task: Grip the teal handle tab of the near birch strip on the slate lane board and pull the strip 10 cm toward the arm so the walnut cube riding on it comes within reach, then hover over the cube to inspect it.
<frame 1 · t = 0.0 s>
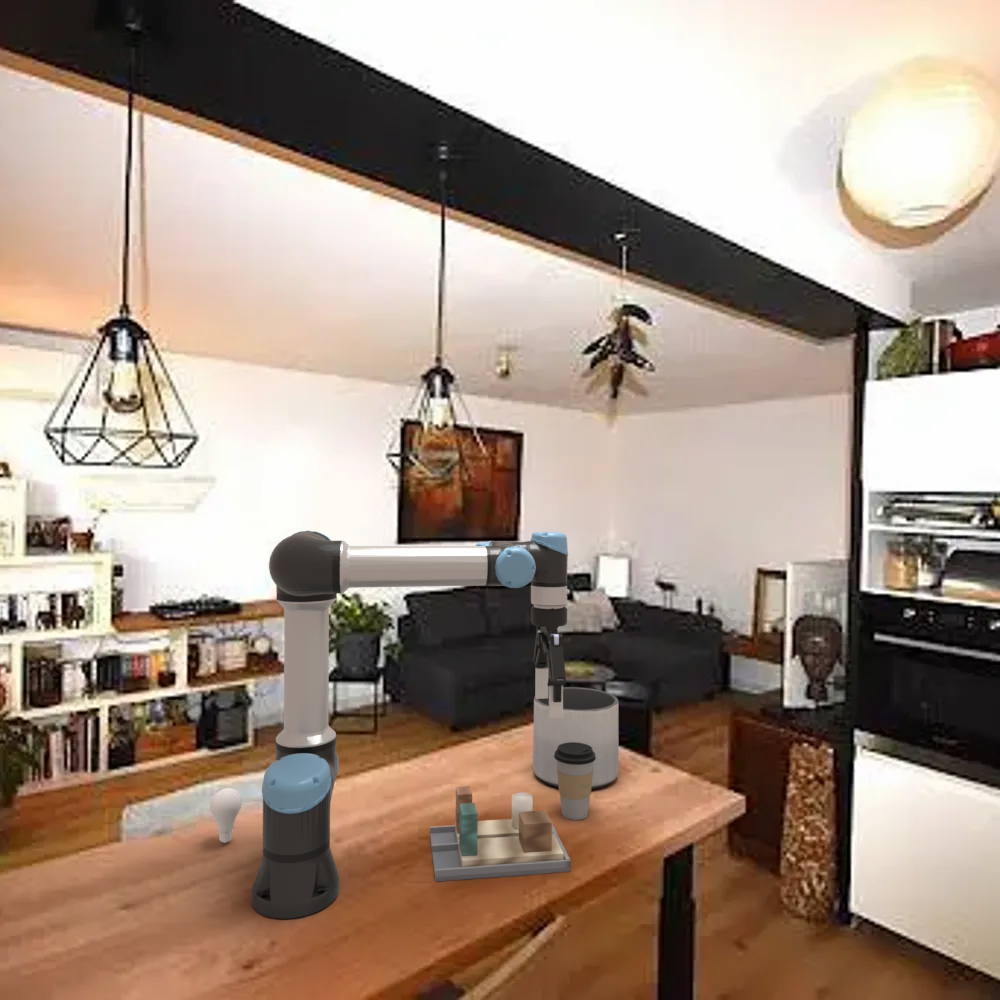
hand: (548, 707, 149), 28 cm above the table, fingers open, 13 cm apart
planter: (575, 776, 184), on the table
stoneware cylinder: (522, 825, 149), point 3 cm above the table, touching strip b
coffee cup: (574, 814, 161), on the table
lane board: (497, 852, 144), on the table
lightbulb: (225, 843, 147), on the table
strip a: (510, 831, 140), point 6 cm above the table, slide at 0.0 cm, touching walnut cube
strip b: (503, 812, 149), point 6 cm above the table, slide at 0.0 cm, touching stoneware cylinder
walnut cube: (534, 844, 141), point 3 cm above the table, touching strip a
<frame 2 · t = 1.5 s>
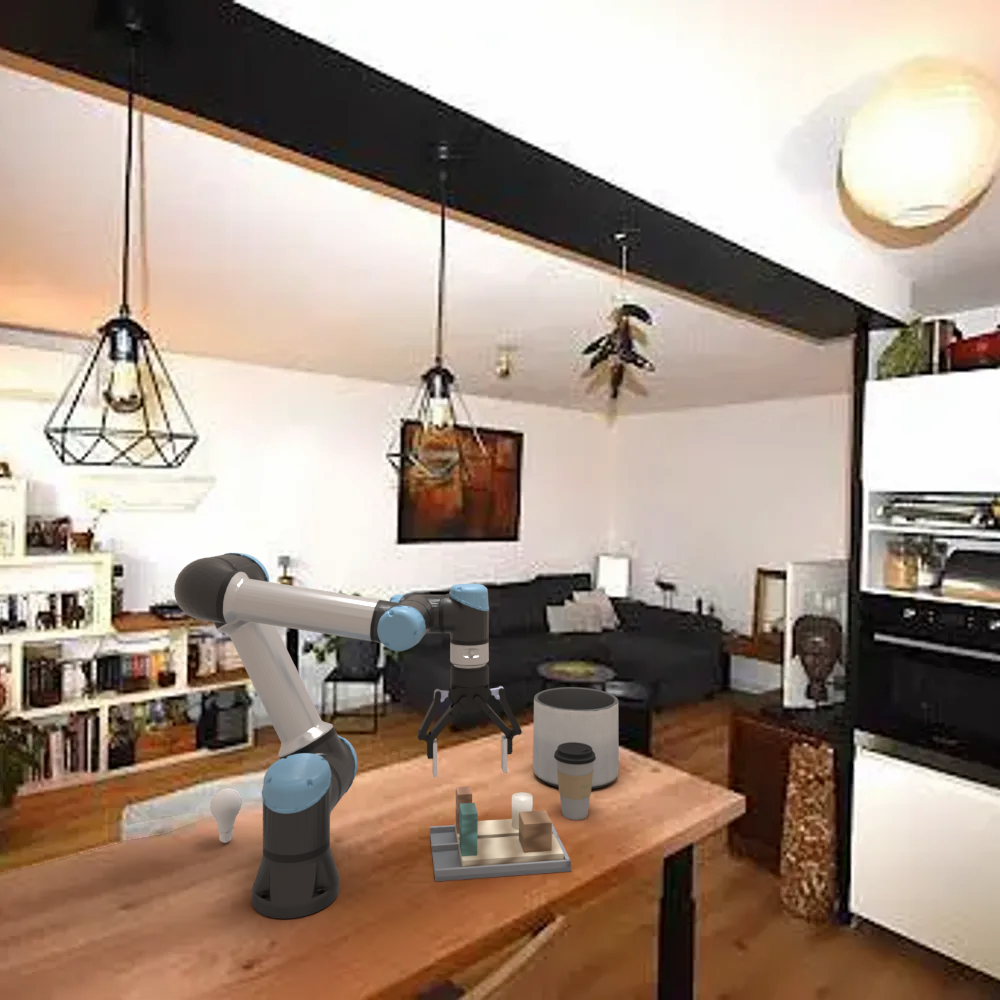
hand: (469, 772, 139), 18 cm above the table, fingers open, 13 cm apart
nothing on the table moved.
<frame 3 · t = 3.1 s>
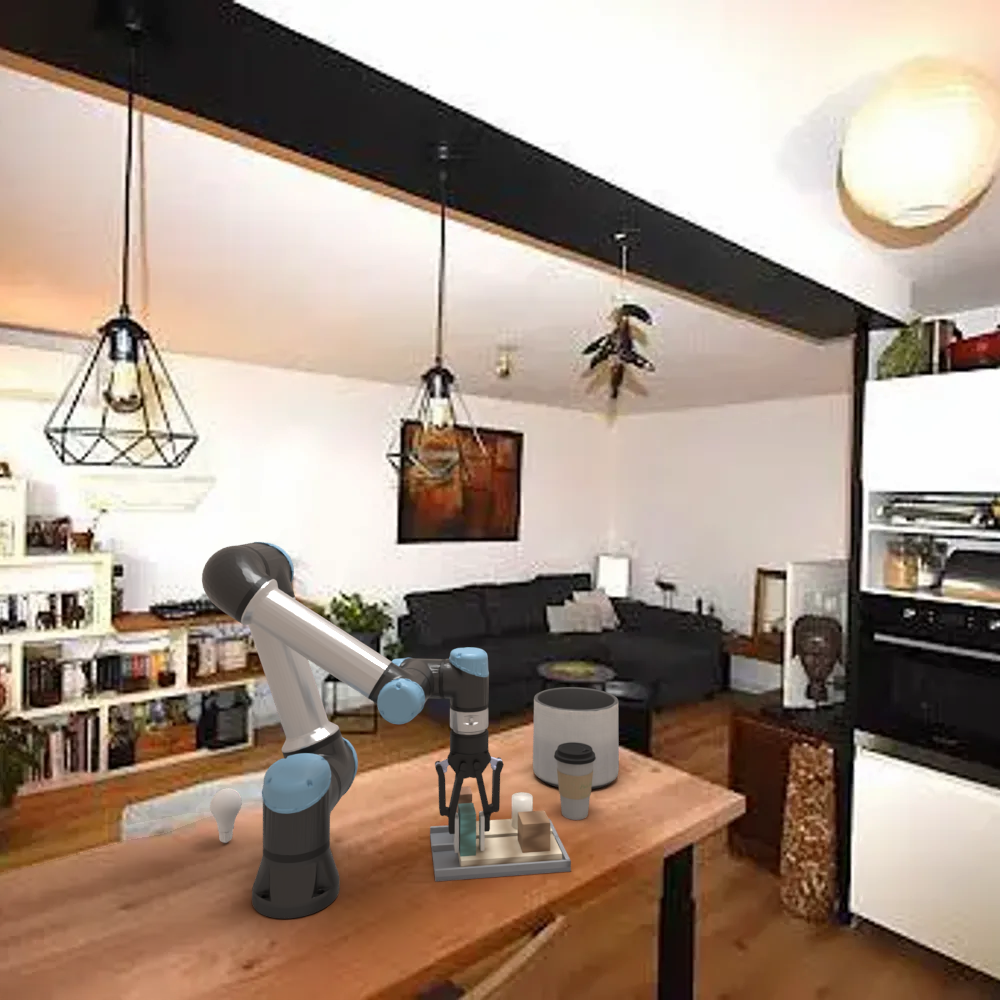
hand: (469, 848, 139), 3 cm above the table, fingers closed on strip a, 4 cm apart
strip a: (508, 831, 140), point 6 cm above the table, slide at 0.3 cm, touching gripper, walnut cube
everything else where it was.
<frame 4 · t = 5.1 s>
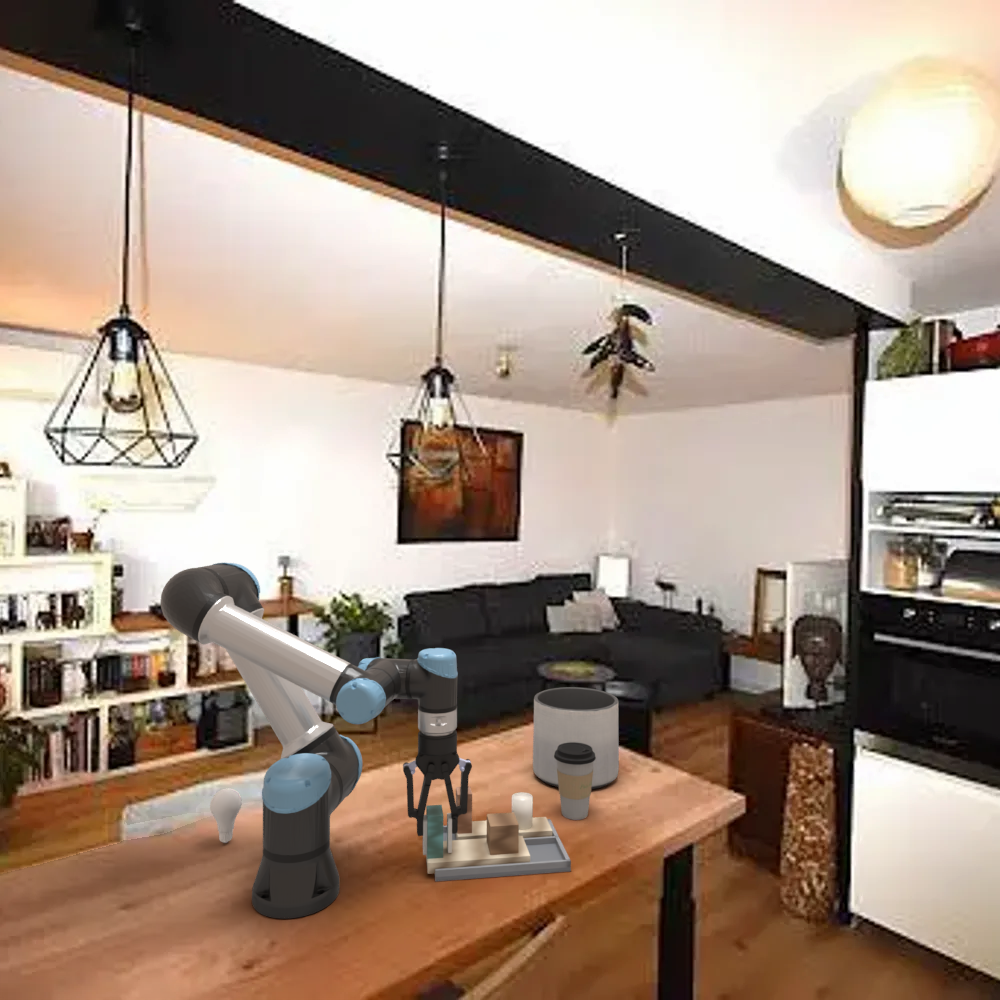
hand: (437, 850, 138), 3 cm above the table, fingers closed on strip a, 4 cm apart
strip a: (477, 833, 139), point 6 cm above the table, slide at 6.6 cm, touching gripper, walnut cube
walnut cube: (502, 847, 140), point 3 cm above the table, touching strip a
everything else where it was.
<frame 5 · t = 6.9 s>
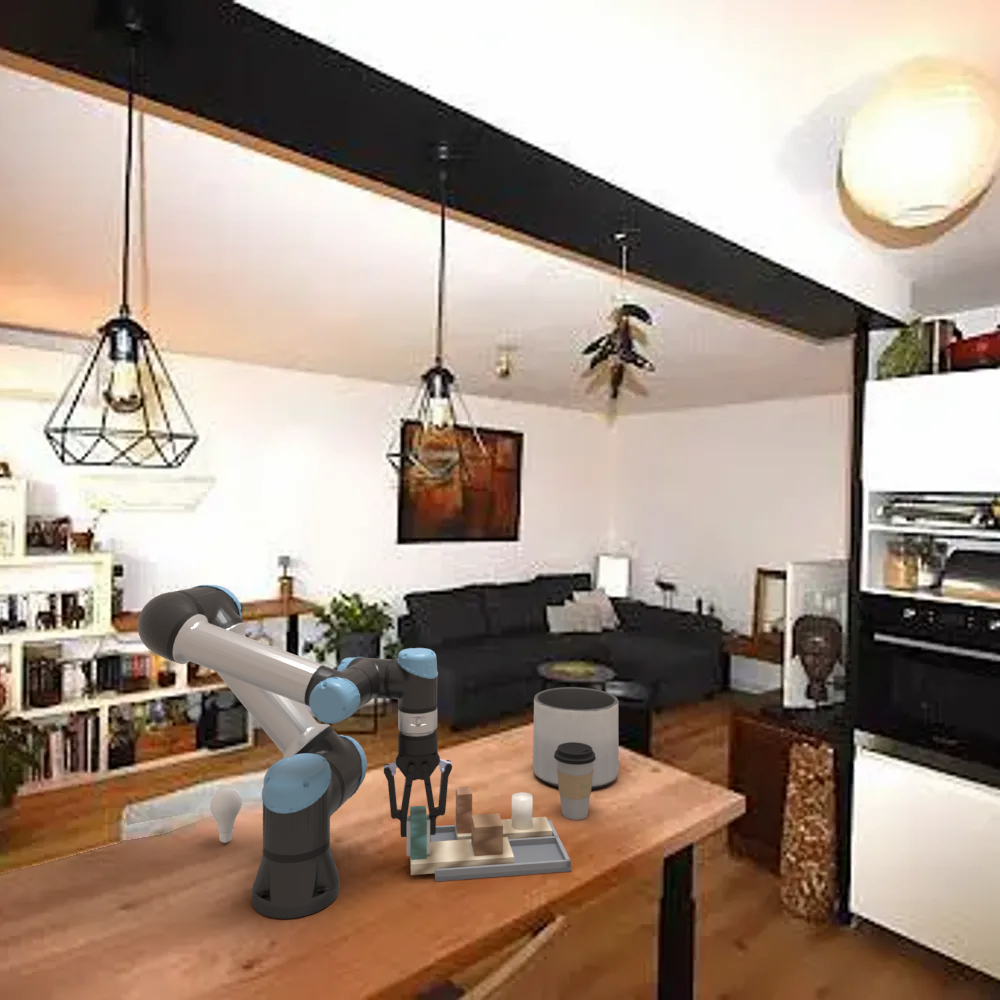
hand: (418, 851, 137), 3 cm above the table, fingers closed on strip a, 3 cm apart
strip a: (461, 834, 139), point 6 cm above the table, slide at 9.7 cm, touching gripper, walnut cube
walnut cube: (486, 848, 139), point 3 cm above the table, touching strip a
everything else where it was.
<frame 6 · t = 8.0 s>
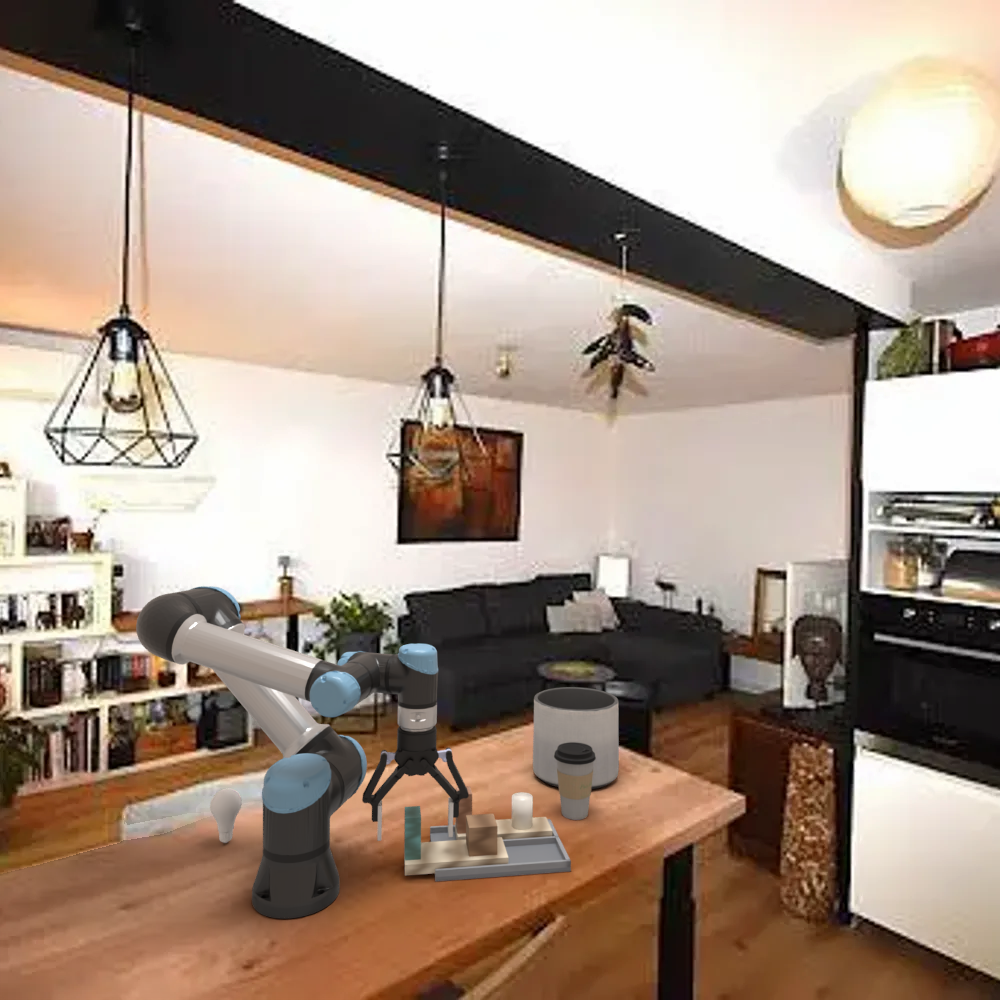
hand: (415, 835, 137), 6 cm above the table, fingers open, 13 cm apart
strip a: (455, 835, 138), point 6 cm above the table, slide at 10.8 cm, touching walnut cube
walnut cube: (481, 848, 139), point 3 cm above the table, touching strip a
everything else where it was.
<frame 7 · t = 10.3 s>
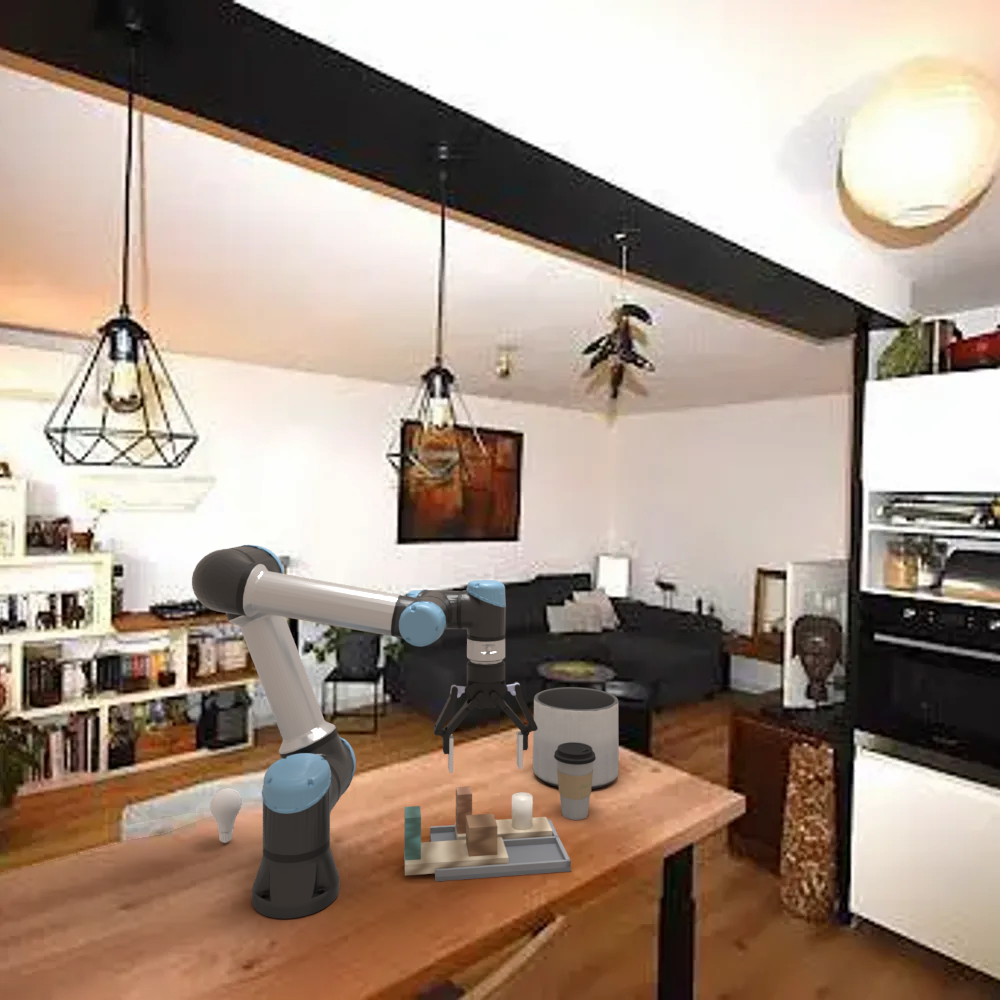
hand: (485, 768, 139), 19 cm above the table, fingers open, 13 cm apart
nothing on the table moved.
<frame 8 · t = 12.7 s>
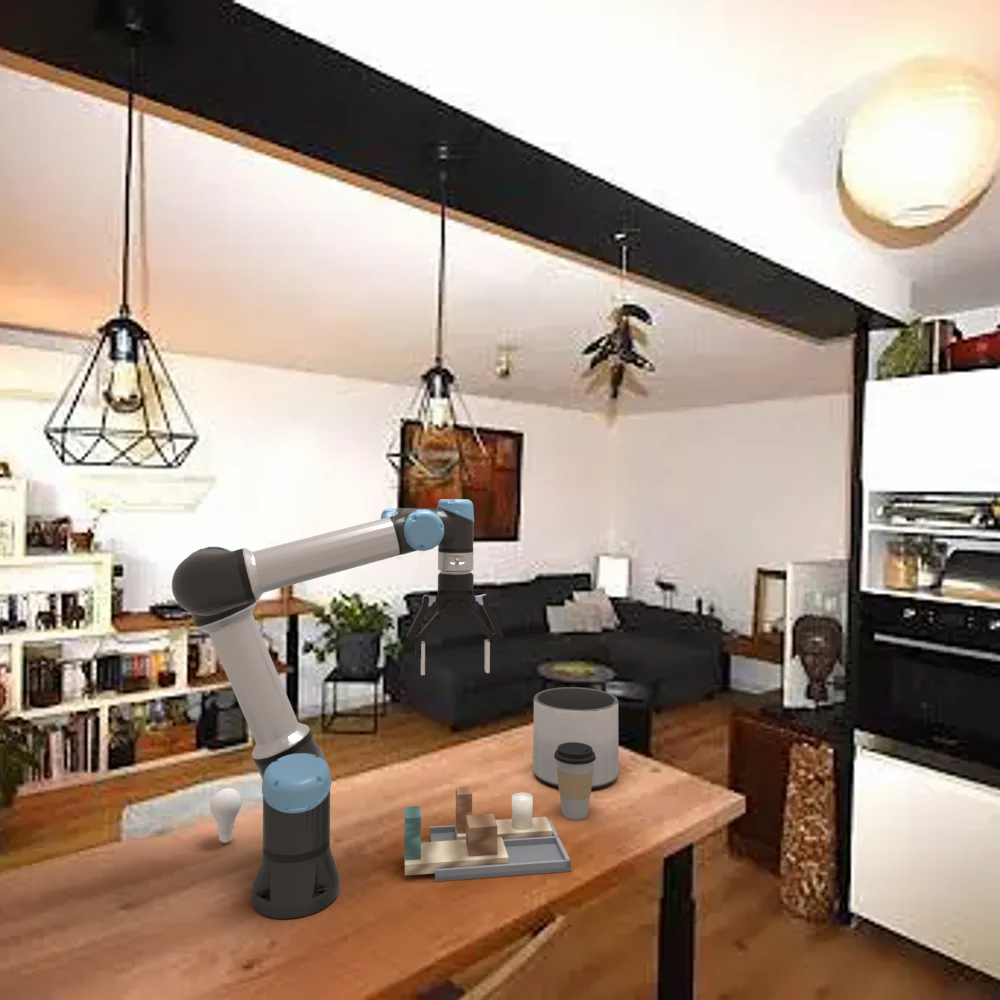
hand: (455, 672, 150), 35 cm above the table, fingers open, 13 cm apart
nothing on the table moved.
at the end: strip a slide at 10.8 cm; walnut cube inside the target area (1.0 cm from its centre), point 3.0 cm above the table; walnut cube tilted 0° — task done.
